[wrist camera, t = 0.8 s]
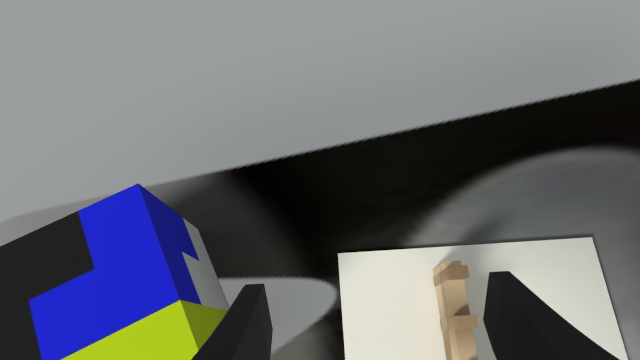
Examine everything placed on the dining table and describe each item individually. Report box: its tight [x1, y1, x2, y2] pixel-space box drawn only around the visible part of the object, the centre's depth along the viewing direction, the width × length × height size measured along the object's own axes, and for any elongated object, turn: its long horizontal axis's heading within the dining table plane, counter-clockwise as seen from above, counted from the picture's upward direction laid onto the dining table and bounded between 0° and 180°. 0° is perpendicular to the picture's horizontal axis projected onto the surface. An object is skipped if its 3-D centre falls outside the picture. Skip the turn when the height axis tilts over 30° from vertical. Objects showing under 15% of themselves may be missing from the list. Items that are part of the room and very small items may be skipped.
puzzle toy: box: [0, 184, 229, 360], centre depth 24 cm, size 10×10×10 cm
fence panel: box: [433, 260, 479, 360], centre depth 25 cm, size 7×1×4 cm, turn 3°
